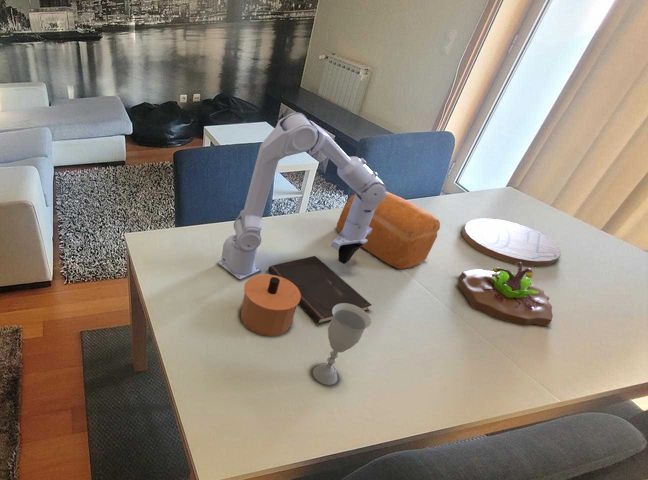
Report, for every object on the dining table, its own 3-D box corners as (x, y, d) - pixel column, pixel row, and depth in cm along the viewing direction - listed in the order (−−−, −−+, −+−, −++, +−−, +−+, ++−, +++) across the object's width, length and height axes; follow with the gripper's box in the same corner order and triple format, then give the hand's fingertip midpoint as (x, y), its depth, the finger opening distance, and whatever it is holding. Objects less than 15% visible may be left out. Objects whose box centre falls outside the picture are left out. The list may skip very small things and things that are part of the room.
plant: (468, 314, 102) (491, 280, 95) (451, 270, 117) (471, 238, 110) (562, 333, 97) (595, 299, 90) (533, 285, 111) (559, 252, 104)
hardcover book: (313, 261, 120) (315, 255, 119) (368, 311, 103) (371, 304, 102) (267, 272, 116) (268, 265, 115) (316, 325, 99) (319, 318, 98)
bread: (396, 272, 116) (419, 225, 106) (331, 229, 135) (345, 186, 125) (429, 261, 120) (454, 215, 110) (361, 221, 139) (377, 178, 129)
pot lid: (232, 289, 98) (234, 274, 95) (270, 271, 104) (274, 257, 101) (272, 321, 89) (276, 306, 86) (311, 300, 95) (316, 285, 92)
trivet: (551, 236, 131) (555, 231, 130) (562, 276, 115) (567, 271, 114) (462, 216, 142) (465, 211, 140) (461, 250, 125) (464, 245, 124)
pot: (230, 312, 103) (235, 287, 98) (265, 296, 108) (271, 271, 103) (265, 343, 95) (272, 317, 89) (301, 323, 100) (309, 298, 95)
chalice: (303, 363, 90) (325, 304, 79) (332, 361, 91) (358, 302, 79) (316, 390, 84) (343, 330, 73) (347, 387, 85) (378, 328, 74)
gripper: (354, 235, 100) (338, 277, 109) (388, 219, 106) (370, 260, 115) (330, 222, 105) (317, 264, 113) (364, 208, 111) (349, 248, 119)
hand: (342, 261), depth 114 cm, fingers closed
